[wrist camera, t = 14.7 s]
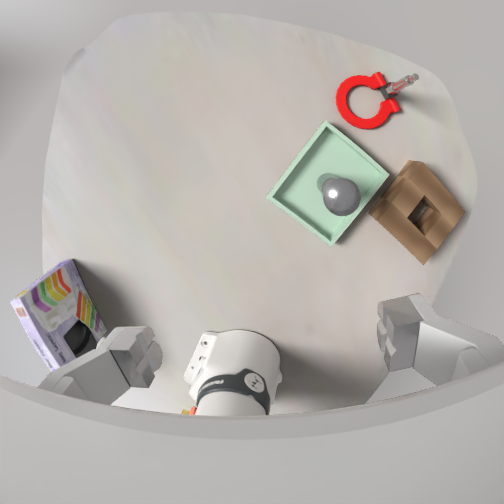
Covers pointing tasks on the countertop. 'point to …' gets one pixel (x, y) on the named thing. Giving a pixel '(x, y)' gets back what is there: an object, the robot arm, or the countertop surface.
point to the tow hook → (373, 83)
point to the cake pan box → (59, 316)
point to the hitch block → (403, 203)
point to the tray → (311, 168)
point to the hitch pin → (339, 194)
